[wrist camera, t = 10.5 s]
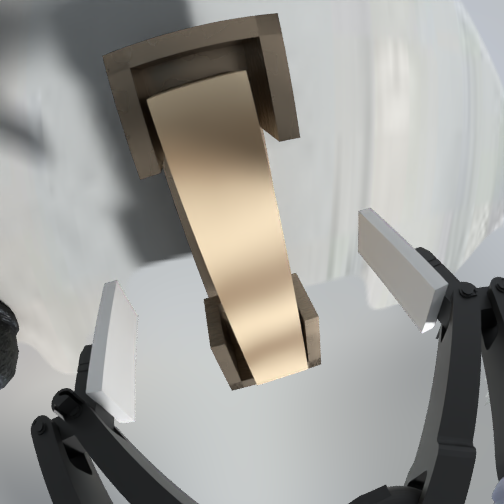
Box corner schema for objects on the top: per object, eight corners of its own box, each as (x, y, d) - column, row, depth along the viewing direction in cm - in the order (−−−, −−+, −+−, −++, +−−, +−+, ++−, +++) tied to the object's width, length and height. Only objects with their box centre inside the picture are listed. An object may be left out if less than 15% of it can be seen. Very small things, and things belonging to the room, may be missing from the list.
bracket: (132, 58, 18) (94, 48, 9) (239, 30, 18) (280, 2, 10) (214, 309, 32) (230, 394, 24) (288, 288, 33) (323, 366, 24)
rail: (157, 92, 15) (146, 99, 10) (228, 71, 15) (246, 70, 11) (244, 337, 26) (257, 385, 22) (289, 323, 26) (308, 368, 22)
